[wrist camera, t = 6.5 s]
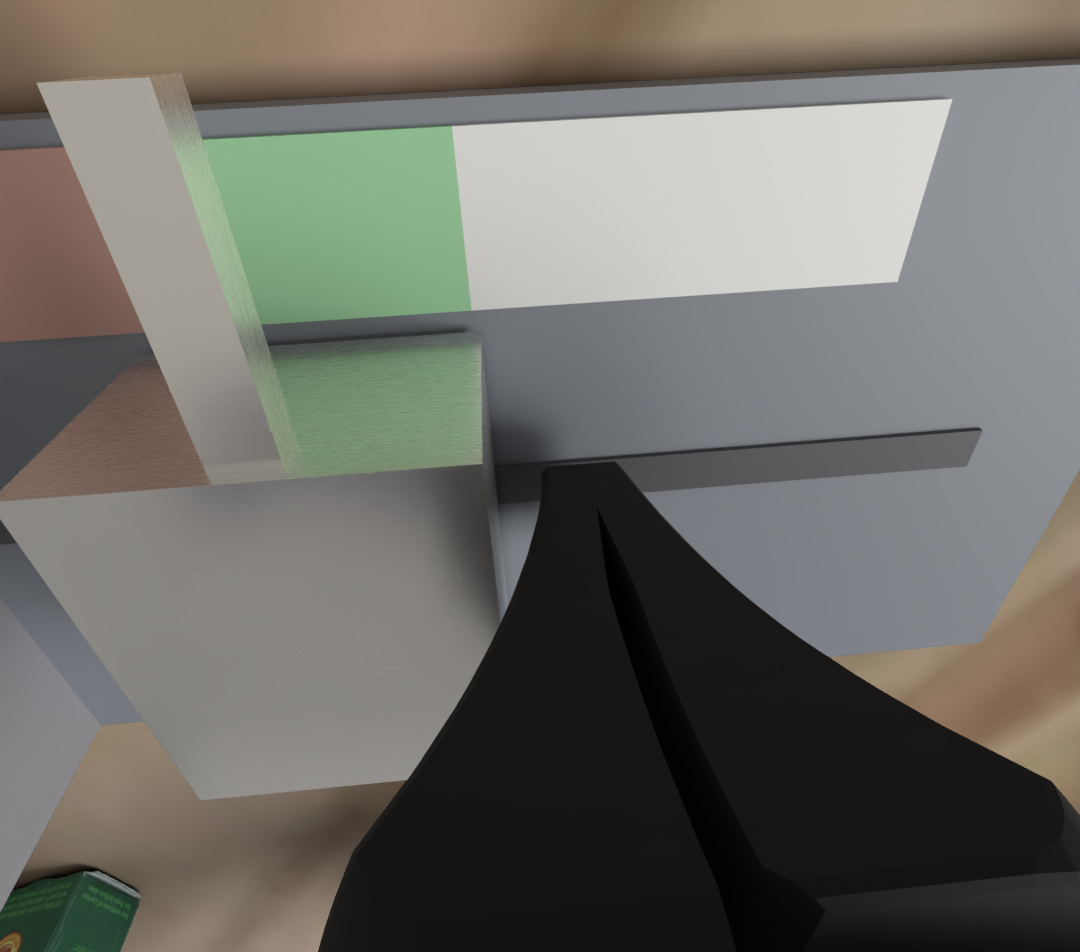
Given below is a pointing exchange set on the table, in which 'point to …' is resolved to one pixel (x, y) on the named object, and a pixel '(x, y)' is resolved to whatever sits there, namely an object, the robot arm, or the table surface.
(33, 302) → the gauge board
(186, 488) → the slider block with tab
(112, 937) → the coffee box
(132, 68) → the table surface
